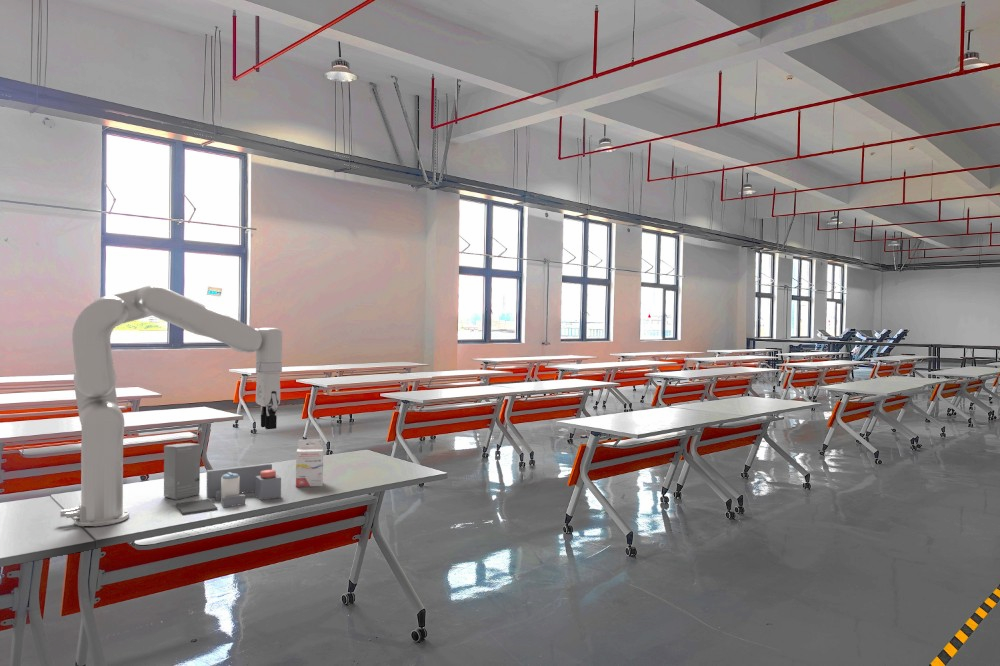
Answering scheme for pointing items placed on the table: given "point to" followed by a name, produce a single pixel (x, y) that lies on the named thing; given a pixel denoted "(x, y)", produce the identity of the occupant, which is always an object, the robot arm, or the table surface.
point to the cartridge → (229, 485)
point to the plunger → (268, 474)
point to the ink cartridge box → (309, 463)
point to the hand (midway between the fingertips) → (268, 427)
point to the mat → (196, 506)
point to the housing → (244, 483)
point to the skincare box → (181, 470)
